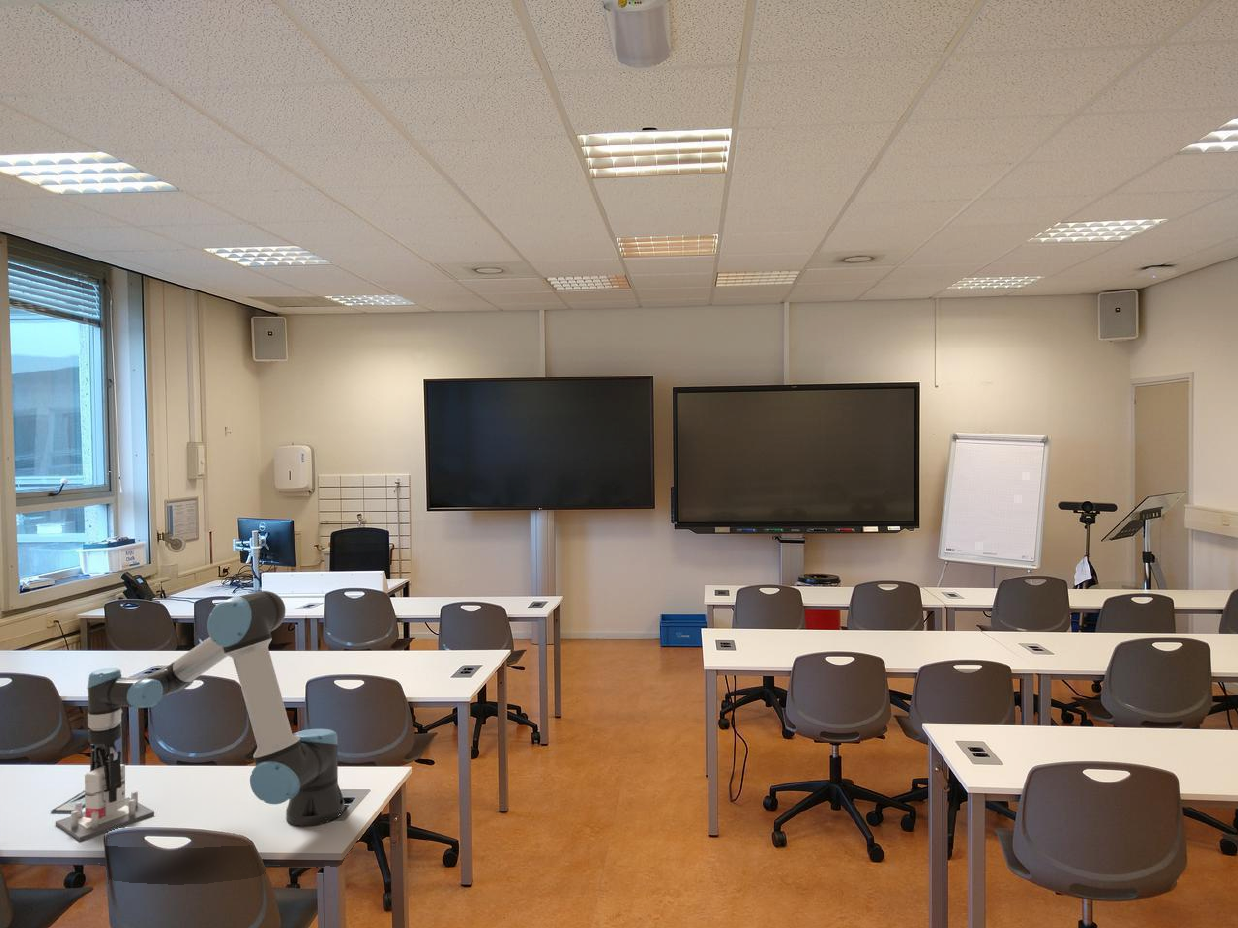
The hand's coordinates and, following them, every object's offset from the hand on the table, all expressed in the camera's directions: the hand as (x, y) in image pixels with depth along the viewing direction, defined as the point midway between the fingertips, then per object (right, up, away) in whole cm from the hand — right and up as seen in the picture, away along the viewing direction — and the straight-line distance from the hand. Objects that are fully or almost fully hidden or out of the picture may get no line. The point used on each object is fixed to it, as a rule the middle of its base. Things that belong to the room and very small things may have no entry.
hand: (105, 809), depth 210 cm
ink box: (0, -1, 0) cm, 1 cm away
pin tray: (0, -3, 0) cm, 3 cm away
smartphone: (-15, -4, +12) cm, 19 cm away
